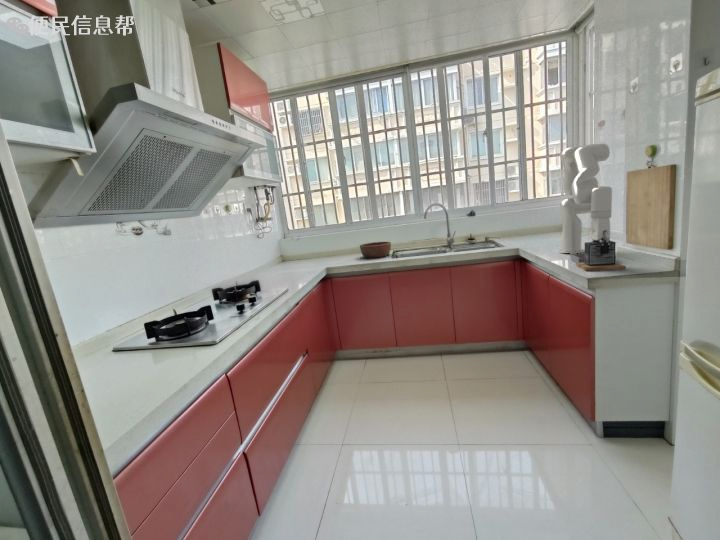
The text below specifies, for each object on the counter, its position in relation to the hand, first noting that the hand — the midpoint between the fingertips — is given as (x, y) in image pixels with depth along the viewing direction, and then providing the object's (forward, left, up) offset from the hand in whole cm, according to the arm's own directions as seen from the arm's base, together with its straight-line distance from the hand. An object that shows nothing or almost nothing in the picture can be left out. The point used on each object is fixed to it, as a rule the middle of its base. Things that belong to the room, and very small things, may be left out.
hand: (600, 252), depth 151 cm
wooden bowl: (-79, -127, -8) cm, 150 cm away
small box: (0, 0, -6) cm, 6 cm away
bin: (-15, +2, -7) cm, 17 cm away
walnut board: (0, 0, -7) cm, 7 cm away
